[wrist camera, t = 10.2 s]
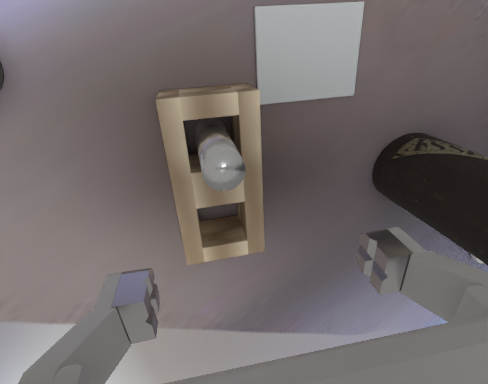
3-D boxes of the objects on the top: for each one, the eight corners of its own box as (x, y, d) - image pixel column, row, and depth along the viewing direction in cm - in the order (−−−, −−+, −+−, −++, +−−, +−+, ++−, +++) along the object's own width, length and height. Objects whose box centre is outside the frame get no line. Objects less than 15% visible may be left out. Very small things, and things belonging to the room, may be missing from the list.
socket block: (246, 83, 27) (259, 90, 23) (253, 225, 34) (264, 251, 30) (159, 90, 26) (155, 99, 21) (186, 236, 33) (187, 265, 29)
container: (448, 160, 36) (706, 267, 18) (392, 210, 38) (578, 351, 20) (417, 113, 32) (706, 192, 15) (356, 171, 34) (548, 304, 16)
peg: (223, 115, 28) (244, 147, 19) (226, 144, 29) (246, 187, 20) (192, 118, 27) (199, 153, 19) (196, 148, 29) (204, 193, 20)
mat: (361, 2, 26) (364, 1, 25) (351, 94, 29) (353, 95, 29) (253, 7, 24) (255, 6, 24) (257, 104, 28) (258, 104, 28)
